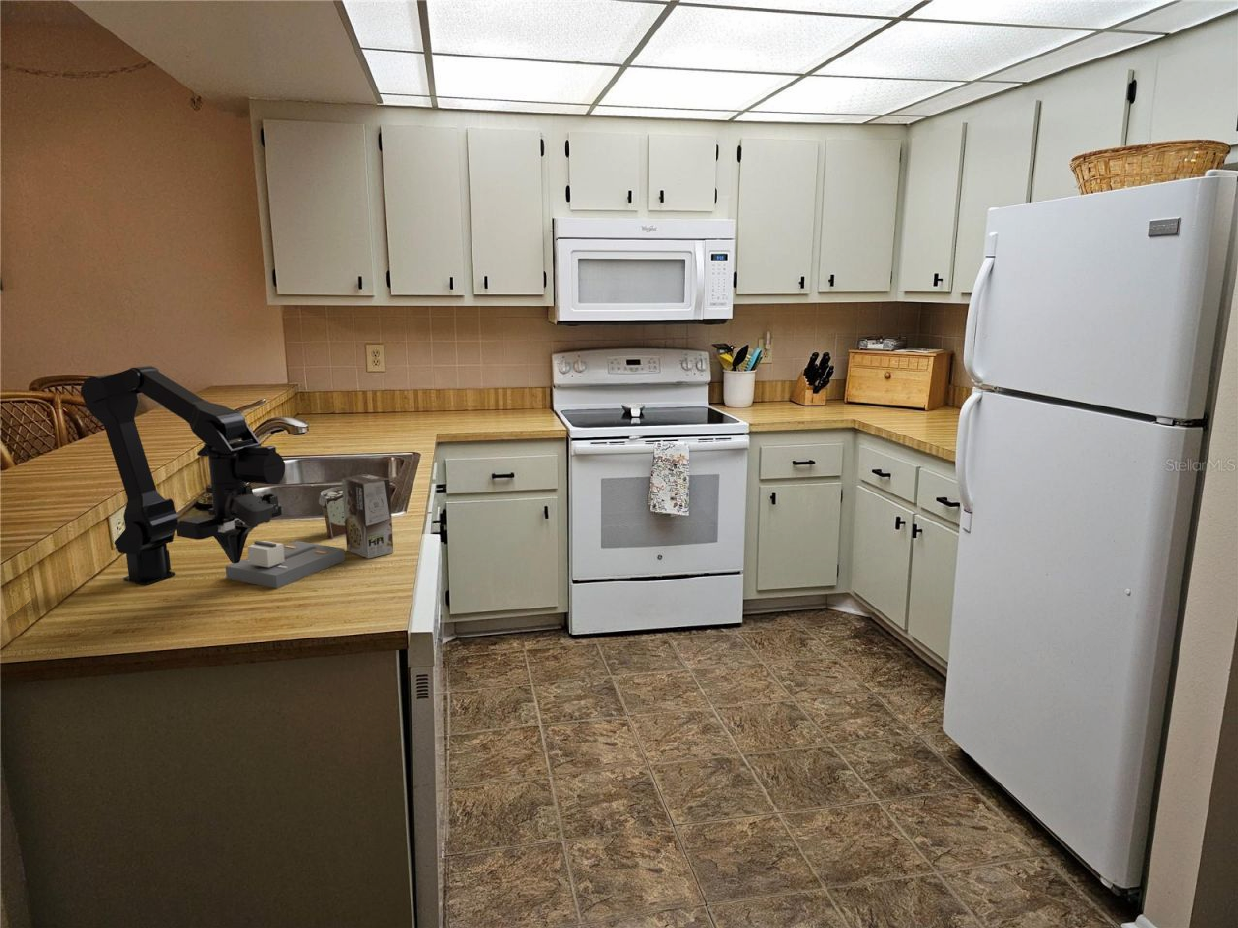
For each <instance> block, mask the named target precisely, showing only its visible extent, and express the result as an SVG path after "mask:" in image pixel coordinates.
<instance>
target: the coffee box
mask: <svg viewBox="0 0 1238 928" xmlns="http://www.w3.org/2000/svg"><path fill="white" fill-rule="evenodd" d="M390 483H391V479H389V478H387V477H382V476H377V475H374V474H370V473H362V474H357V475H353V476H348V477H343V478H341V487H342V489H343V503H344V516H345V529H346V535H345V540H346V541H345V542H346V551H348V552H350V553H353V554H355V555H358V556H361V557H363V558H366V559H373V558H377V557H380V556H385V555H388V554H389V555H390V554H393V553H394V543H393V542H394V540H393V539H394V537H393V523H392V521H393V520H392V519H393V518H392V505H391V504H392V503H391V485H390Z"/></svg>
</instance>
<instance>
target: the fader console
mask: <svg viewBox="0 0 1238 928" xmlns="http://www.w3.org/2000/svg"><path fill="white" fill-rule="evenodd" d="M283 547H284V559H285V561H284V562H282V563H279V564H276V565H274V566H271V567H263V566H258V565H252V564H249V558H245V559H240V562H239V563H236V564H235V563H230V564H228V565H225V575H226V580H232V581H236V582H237V581H238V582H242V583H248V584H252V585H259V586H263V587H268V588H273V589H279V588H282V587H285V586H286V585H288V584H291V583H293V582H296V581H298V580H301V579H304V578H306V577H309V576H311V575H313V574H316V573H318V572H320V571H323V570H325V569H329V568H330V567H332V566H336V565H337V564H339V563H343V562H345V561H346V556H345V555H346V554H345V548H340V547H335V546H331V545H325V544H324V545H322V544H316V543H312V542H311V543H310V542H306V541H305V542H304V541H300V540H296V541H293V542H290V543H288V544H283Z"/></svg>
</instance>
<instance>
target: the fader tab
mask: <svg viewBox="0 0 1238 928" xmlns="http://www.w3.org/2000/svg"><path fill="white" fill-rule="evenodd" d="M253 543H254V544H251V545H248V546H247V555H248V558H249V564H252V565H258V566H263V567H271V566H274V565H276V564H279V563H282V562H284V561H285V559H284V547H283V546H284V544H283V543H278V542H273V541H268V540H263V541H261V540H255V541H254V542H253Z"/></svg>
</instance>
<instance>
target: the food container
mask: <svg viewBox="0 0 1238 928" xmlns="http://www.w3.org/2000/svg"><path fill="white" fill-rule="evenodd" d="M318 504H319V505H321V506H322V511H323V517H324V522H325V528H326V533H327V534H326V535H327V537H328V538H329V539H332V540H333V539H335V538H341V537H344V536H346V529H345V516H344V503H343V489H342V486H337V487H331V488H328V489H326V490H322V491H321V493H320V494H319V500H318ZM343 535H344V536H343ZM340 536H341V537H340Z"/></svg>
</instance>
